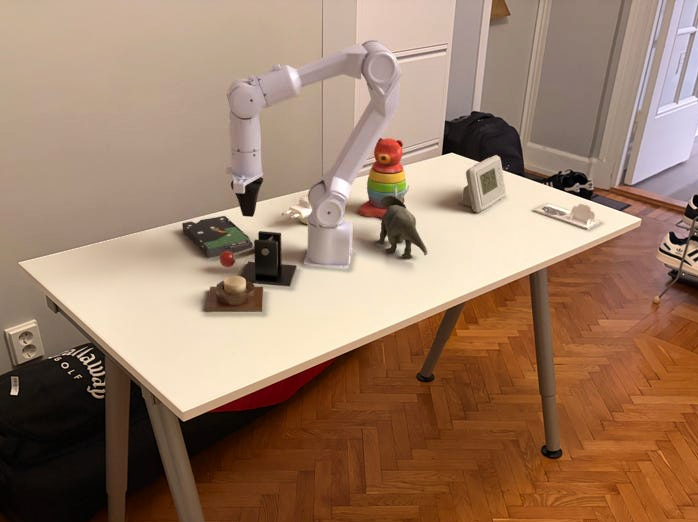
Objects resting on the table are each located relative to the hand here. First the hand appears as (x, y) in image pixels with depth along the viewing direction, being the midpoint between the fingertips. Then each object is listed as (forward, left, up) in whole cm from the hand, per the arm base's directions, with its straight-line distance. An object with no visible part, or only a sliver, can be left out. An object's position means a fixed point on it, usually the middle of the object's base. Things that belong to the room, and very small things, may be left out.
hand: (248, 215), depth 144 cm
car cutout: (-72, -39, -11) cm, 82 cm away
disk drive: (+9, -8, -11) cm, 16 cm away
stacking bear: (-26, -33, -11) cm, 43 cm away
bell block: (-1, +17, -10) cm, 20 cm away
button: (-1, +18, -7) cm, 19 cm away
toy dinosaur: (-30, -12, -11) cm, 34 cm away
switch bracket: (-5, +6, -10) cm, 13 cm away
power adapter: (-8, -22, -11) cm, 26 cm away
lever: (-1, +6, -7) cm, 9 cm away
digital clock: (-51, -44, -11) cm, 68 cm away
